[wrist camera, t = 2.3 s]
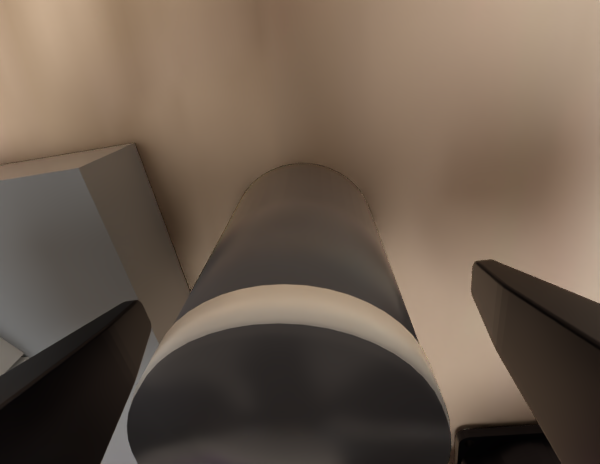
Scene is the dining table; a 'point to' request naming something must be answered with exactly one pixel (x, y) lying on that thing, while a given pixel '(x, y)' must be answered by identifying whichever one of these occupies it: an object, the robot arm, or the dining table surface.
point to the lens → (292, 343)
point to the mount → (83, 256)
